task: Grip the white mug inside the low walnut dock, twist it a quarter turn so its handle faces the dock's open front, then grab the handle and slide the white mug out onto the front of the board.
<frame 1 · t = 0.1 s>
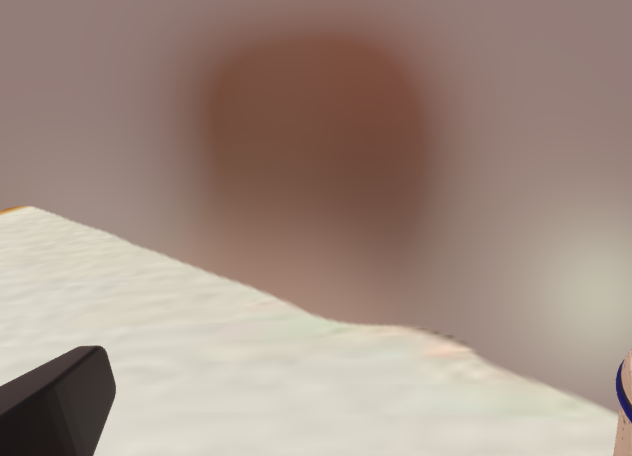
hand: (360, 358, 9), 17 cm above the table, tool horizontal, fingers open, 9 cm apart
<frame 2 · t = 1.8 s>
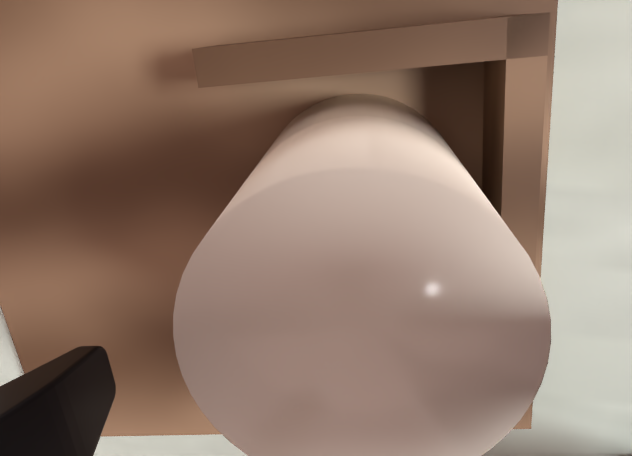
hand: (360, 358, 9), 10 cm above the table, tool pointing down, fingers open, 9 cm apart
dock: (246, 191, 19), on the table
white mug: (358, 192, 17), point 1 cm above the table, touching dock
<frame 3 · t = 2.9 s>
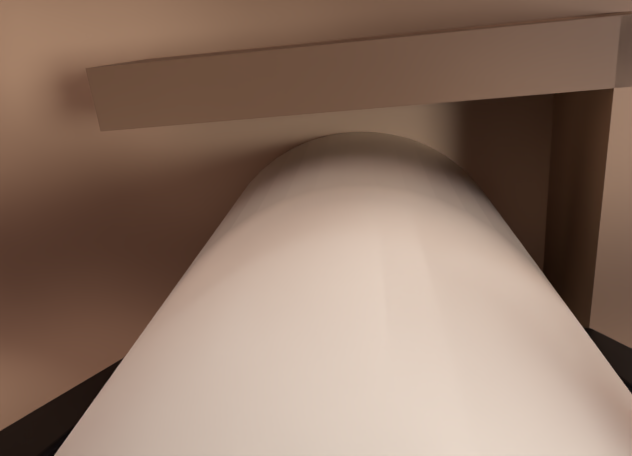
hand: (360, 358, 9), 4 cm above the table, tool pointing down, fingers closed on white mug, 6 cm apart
dock: (202, 262, 13), on the table
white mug: (360, 272, 12), point 1 cm above the table, touching dock, gripper
when the fingers open (4 cm above the table, at t = 5.4 s): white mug stays where it is, resting on dock.
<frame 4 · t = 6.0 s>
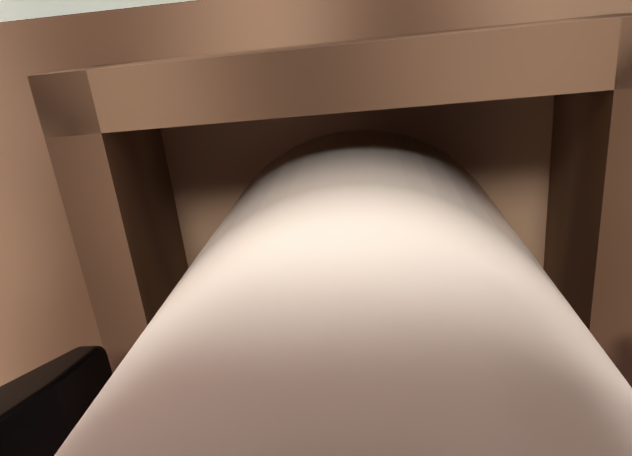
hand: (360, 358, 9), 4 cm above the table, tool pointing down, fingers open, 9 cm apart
dock: (370, 389, 14), on the table
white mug: (361, 271, 12), point 1 cm above the table, touching dock
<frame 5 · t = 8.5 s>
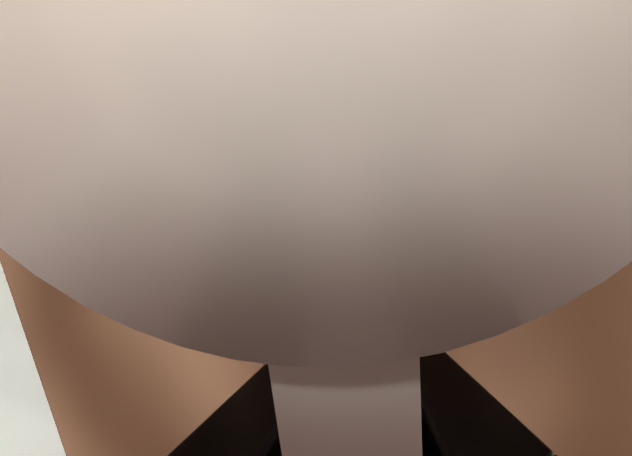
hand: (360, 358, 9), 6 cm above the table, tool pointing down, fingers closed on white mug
dock: (355, 162, 14), on the table
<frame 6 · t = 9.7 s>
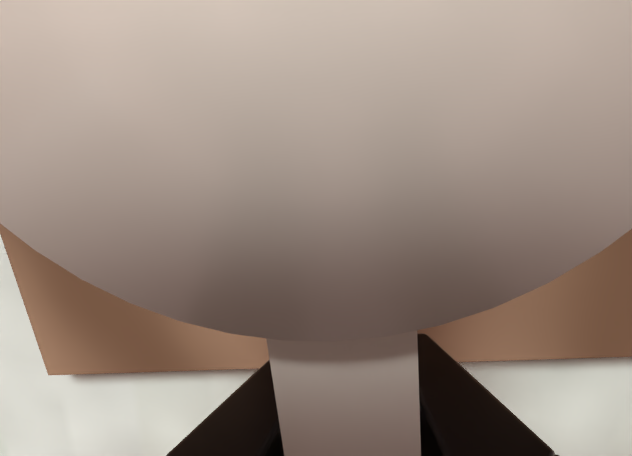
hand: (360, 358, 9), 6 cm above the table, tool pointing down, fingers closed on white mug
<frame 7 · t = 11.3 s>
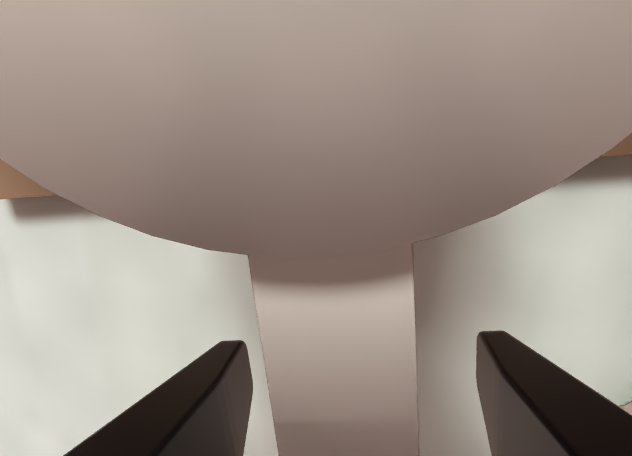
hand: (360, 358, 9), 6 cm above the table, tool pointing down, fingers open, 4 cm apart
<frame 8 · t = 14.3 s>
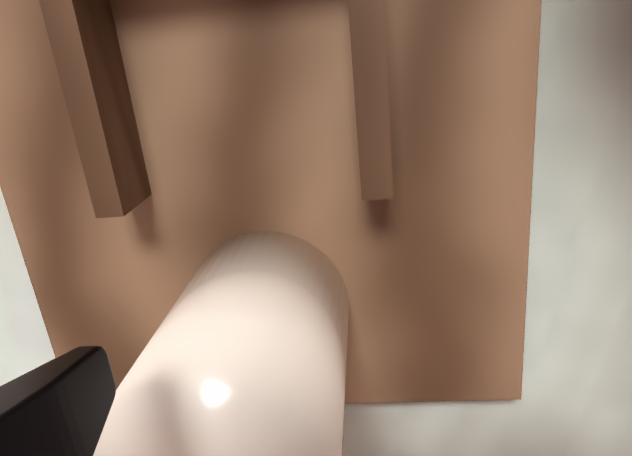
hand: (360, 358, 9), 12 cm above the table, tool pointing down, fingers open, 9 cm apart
dock: (259, 179, 20), on the table
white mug: (270, 304, 21), point 1 cm above the table, touching dock
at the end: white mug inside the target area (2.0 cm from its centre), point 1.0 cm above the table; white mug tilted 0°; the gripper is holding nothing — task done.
